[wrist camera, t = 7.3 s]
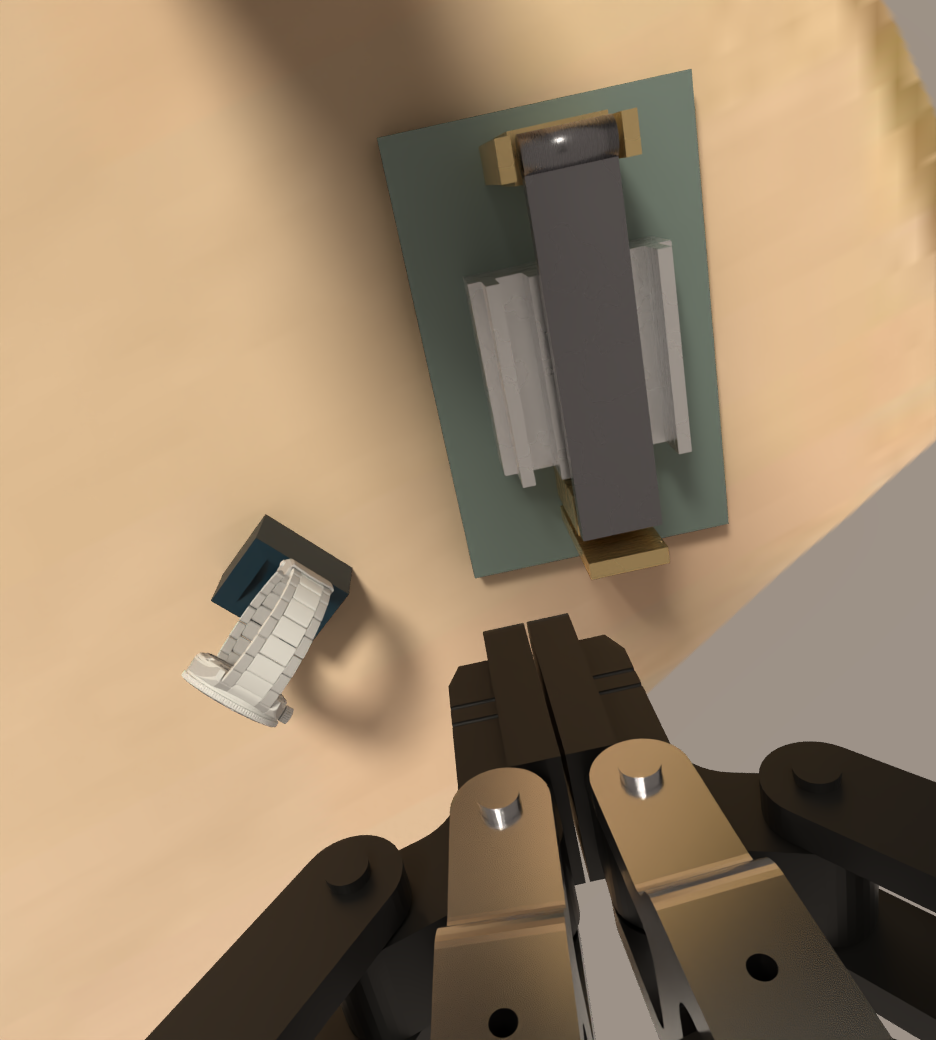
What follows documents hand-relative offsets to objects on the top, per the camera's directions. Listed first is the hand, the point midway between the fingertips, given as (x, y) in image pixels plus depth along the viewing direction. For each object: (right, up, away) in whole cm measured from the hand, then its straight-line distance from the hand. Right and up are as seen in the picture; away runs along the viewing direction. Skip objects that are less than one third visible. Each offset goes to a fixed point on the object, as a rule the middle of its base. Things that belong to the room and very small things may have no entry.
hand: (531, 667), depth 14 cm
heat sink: (+4, +11, +26) cm, 28 cm away
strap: (+4, +10, +20) cm, 23 cm away
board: (+4, +11, +27) cm, 30 cm away
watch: (-11, 0, +31) cm, 33 cm away
